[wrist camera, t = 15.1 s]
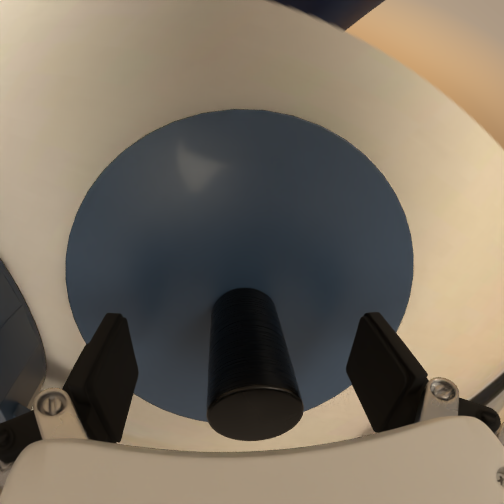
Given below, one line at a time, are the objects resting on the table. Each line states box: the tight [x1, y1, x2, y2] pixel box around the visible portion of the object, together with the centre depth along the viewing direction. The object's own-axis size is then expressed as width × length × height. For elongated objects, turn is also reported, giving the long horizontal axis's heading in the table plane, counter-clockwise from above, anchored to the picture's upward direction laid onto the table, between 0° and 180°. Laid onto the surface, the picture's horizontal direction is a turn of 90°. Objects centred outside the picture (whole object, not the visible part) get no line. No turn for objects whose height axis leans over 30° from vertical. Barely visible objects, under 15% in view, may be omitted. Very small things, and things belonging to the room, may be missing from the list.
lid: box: [66, 109, 413, 441], centre depth 10 cm, size 17×17×7 cm
